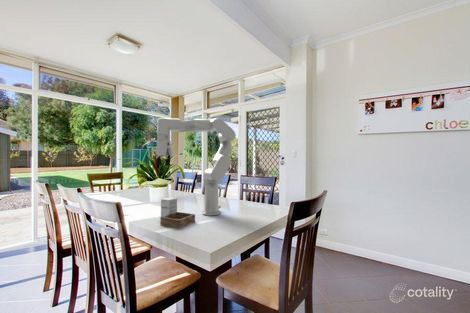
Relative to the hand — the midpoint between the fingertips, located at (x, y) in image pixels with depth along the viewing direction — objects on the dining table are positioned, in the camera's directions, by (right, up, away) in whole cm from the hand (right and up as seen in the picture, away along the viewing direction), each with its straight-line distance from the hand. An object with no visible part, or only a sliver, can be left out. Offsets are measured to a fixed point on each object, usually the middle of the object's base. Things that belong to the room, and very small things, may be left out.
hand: (163, 165), depth 138 cm
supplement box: (+3, -34, +4) cm, 35 cm away
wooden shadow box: (+11, -34, -8) cm, 37 cm away
